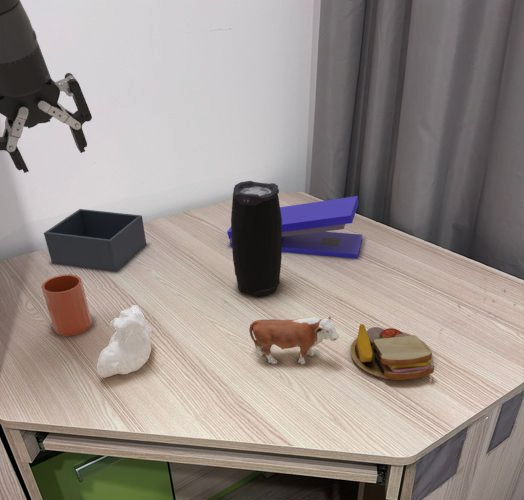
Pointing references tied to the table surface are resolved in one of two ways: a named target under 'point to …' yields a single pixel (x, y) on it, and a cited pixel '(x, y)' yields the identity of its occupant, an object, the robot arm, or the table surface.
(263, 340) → the bull figurine
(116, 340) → the bust
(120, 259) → the tub
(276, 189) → the portable speaker
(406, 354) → the toy sandwich meal
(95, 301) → the table surface
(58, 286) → the rice cup
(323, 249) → the stapler
